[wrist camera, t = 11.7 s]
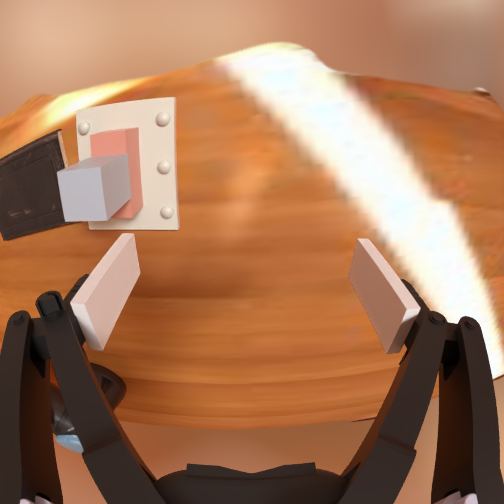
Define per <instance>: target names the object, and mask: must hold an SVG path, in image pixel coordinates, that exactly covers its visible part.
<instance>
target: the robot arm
mask: <svg viewBox="0 0 504 504" xmlns="http://www.w3.org/2000/svg"><path fill="white" fill-rule="evenodd" d="M139 275H140V268H139V262H138V257H137V251H136V244H135V238H134V233H122V234H121V236H120V237H119V238H118V239H117V240H116V242H115V243H114V244H113V245H112V247H111V248H110V249H109V250H108V252H107V253H106V254H105V256H104V257H103V258H102V259H101V261H100V262H99V263H98V265H97V266H96V267H95V269H94V270H93V271H92V273H91V274H85V275H84V276H83V277H81V278H80V279H79V280H78V281H77V282H76V284H75V285H74V286H73V288H72V289H71V291H70V292H69V293H68V294H67V296H66V297H65V299H64V300H62V297H61V294H60V293H59V292H57V291H48V292H45V293H43V294H42V295H40V296H39V297H38V298H37V300H36V304H35V305H36V307H37V309H38V312H39V314H40V316H41V318H33V319H31V317H30V315H29V313H28V312H27V311H25V310H23V311H18V312H15V313H14V314H13V315H12V316H11V317H10V318H9V320H8V323H7V327H6V331H5V335H4V340H3V344H2V349H1V354H0V504H63V496H62V491H61V484H60V479H59V474H58V469H57V463H56V457H55V450H54V442H53V433H54V434H55V435H56V441H57V443H58V444H60V445H61V446H63V447H65V448H67V449H69V450H72V451H74V452H77V453H81V454H82V457H83V459H84V462H85V464H86V466H87V468H88V470H89V471H90V474H91V475H92V478H93V479H94V481H95V483H96V485H97V487H98V488H99V490H100V492H101V493H102V495H103V497H104V499H105V500H106V502H107V504H393V503H394V501H395V500H396V498H397V496H398V494H399V492H400V490H401V488H402V486H403V483H404V482H405V480H406V477H407V475H408V473H409V471H410V469H411V466H412V464H413V462H414V459H415V456H416V450H415V449H414V446H415V443H416V440H417V438H418V435H419V432H420V430H421V427H422V424H423V421H424V418H425V415H426V412H427V409H428V406H429V403H430V400H431V396H432V393H433V389H434V386H435V382H436V378H437V374H438V370H439V424H438V440H437V452H436V461H435V469H434V476H433V483H432V491H431V492H432V493H431V504H504V483H503V478H502V474H501V470H500V442H499V426H498V415H497V407H496V399H495V392H494V386H493V379H492V374H491V369H490V364H489V359H488V354H487V350H486V346H485V342H484V338H483V334H482V330H481V327H480V325H479V323H478V322H477V321H476V320H475V319H473V318H471V317H467V316H464V317H462V318H461V319H460V320H459V322H458V324H454V323H448V322H447V320H446V318H445V317H444V316H443V315H442V314H440V313H438V312H435V311H430V310H429V308H428V307H427V306H426V304H425V303H424V301H423V300H422V299H421V297H419V295H418V293H417V292H415V289H414V288H413V287H412V285H411V284H410V283H408V282H407V281H406V280H404V279H399V277H398V276H397V275H396V273H395V272H394V271H393V269H392V268H391V267H390V265H389V264H388V263H387V262H386V260H385V259H384V258H383V256H382V255H381V254H380V253H379V251H378V250H377V249H376V248H375V246H374V245H373V244H372V243H371V241H370V240H369V239H359V238H357V242H356V246H355V251H354V255H353V260H352V264H351V268H350V272H349V276H348V278H349V280H350V282H351V283H352V285H353V287H354V289H355V291H356V293H357V295H358V297H359V299H360V301H361V303H362V305H363V307H364V309H365V311H366V313H367V315H368V317H369V319H370V321H371V323H372V325H373V327H374V329H375V331H376V333H377V335H378V337H379V339H380V341H381V344H382V346H383V348H384V350H385V352H386V354H391V353H398V352H400V350H401V349H402V347H403V345H404V344H405V346H406V347H407V350H406V352H405V354H404V356H403V358H402V360H401V361H400V363H399V365H400V367H399V369H398V372H397V374H396V376H395V379H394V381H393V383H392V385H391V388H390V390H389V392H388V394H387V396H386V398H385V401H384V403H383V405H382V407H381V409H380V411H379V413H378V415H377V417H376V419H375V421H374V423H373V424H372V426H371V428H370V430H369V432H368V434H367V435H366V437H365V439H364V441H363V442H362V444H361V446H360V447H359V449H358V451H357V453H356V454H355V456H354V457H353V459H352V461H351V462H350V464H349V465H348V466H347V467H346V469H345V470H344V471H343V473H342V474H341V475H337V474H335V473H333V472H329V471H326V470H322V469H316V467H315V463H304V464H293V465H283V466H280V467H276V468H273V469H269V470H265V471H261V472H257V473H246V472H241V471H237V470H233V469H229V468H225V467H221V466H211V465H198V464H187V470H181V471H177V472H173V473H171V474H168V475H166V476H163V477H161V478H160V479H159V480H157V479H156V478H155V476H154V475H153V474H152V473H151V471H150V470H149V469H148V467H147V466H146V465H145V463H144V462H143V460H142V459H141V457H140V456H139V454H138V453H137V451H136V450H135V448H134V447H133V445H132V443H131V442H130V440H129V439H128V437H127V435H126V434H125V432H124V430H123V428H122V427H121V425H120V423H119V421H118V420H117V418H116V416H115V414H114V412H113V411H114V410H115V408H116V407H117V406H118V405H119V403H120V402H121V401H122V399H123V398H124V396H125V393H126V386H125V384H124V382H123V381H122V380H121V379H120V378H119V377H118V376H117V375H116V374H115V373H113V372H112V371H110V370H108V369H106V368H104V367H102V366H100V365H97V364H93V363H89V360H88V358H87V356H86V353H85V351H84V349H83V347H82V346H83V344H84V342H85V340H86V343H87V345H88V347H89V349H94V350H100V351H103V350H104V347H105V345H106V343H107V341H108V338H109V336H110V334H111V332H112V330H113V328H114V325H115V323H116V321H117V319H118V317H119V315H120V313H121V311H122V309H123V307H124V305H125V303H126V301H127V299H128V297H129V295H130V293H131V291H132V289H133V287H134V285H135V283H136V281H137V279H138V277H139ZM50 359H51V361H52V365H53V369H54V372H55V376H56V379H57V382H58V385H59V388H58V387H57V386H56V385H54V384H53V383H51V382H50Z"/></svg>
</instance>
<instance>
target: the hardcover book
mask: <svg viewBox="0 0 504 504" xmlns="http://www.w3.org/2000/svg"><path fill="white" fill-rule="evenodd" d="M61 130H62V129H58V130H56V131H54V132H52V133H49V134H47V135H45V136H43V137H41V138H39V139H37V140H35V141H33V142H31V143H29V144H27V145H25V146H23V147H21V148H19V149H17V150H16V151H14V152H12V153H10V154H8V155H7V156H5V157H3V158H1V159H0V232H1V234H2V237H3V240H4V241H5V240H9V239H12V238H16V237H19V236H23V235H27V234H30V233H34V232H38V231H42V230H45V229H49V228H53V227H57V226H61V225H65V224H69V223H74V222H78V221H72V222H65V218H64V213H63V207H62V202H61V196H60V190H59V183H58V176H57V172H58V171H60V170H62V169H65V168H67V167H69V166H68V162H67V158H66V154H65V149H64V145H63V140H62V135H61Z"/></svg>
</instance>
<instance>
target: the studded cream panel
mask: <svg viewBox="0 0 504 504" xmlns="http://www.w3.org/2000/svg"><path fill="white" fill-rule="evenodd" d="M76 120H77V140H78V153H79V162H80V161H82V160H84V159H87V158H89V157H97V156H106V155H117V154H128V160H129V174H130V186H131V196H132V198H131V199H130V200H129V201H127V202H126V203H125V204H124V205H123V206H122V207H121V208H120V209H119V210H118V211H117V212H116V213H115V214H114V215H113V216H112V217H111V218H110V219H109V220H108V221H88V225H89V230H178V229H179V227H180V223H179V207H178V187H177V157H176V97H168V98H156V99H146V100H137V101H129V102H122V103H115V104H108V105H102V106H97V107H91V108H86V109H81V110H76Z"/></svg>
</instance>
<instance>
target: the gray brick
mask: <svg viewBox="0 0 504 504" xmlns="http://www.w3.org/2000/svg"><path fill="white" fill-rule="evenodd" d="M57 176H58V183H59V190H60V196H61V202H62V207H63V213H64V218H65V222H72V221H108V220H109V219H110V218H111V217H112V216H113V215H114V214H115V213H116V212H117V211H118V210H119V209H120V208H121V207H122V206H123V205H124V204H125V203H126V202H127V201H129V200H130V199H131V198H132V196H131V186H130V174H129V160H128V154H117V155H106V156H97V157H89V158H87V159H84V160H82V161H80V162H78V163H75V164H73V165H71V166H69V167H67V168H65V169H62V170H60V171H58V172H57Z"/></svg>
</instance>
